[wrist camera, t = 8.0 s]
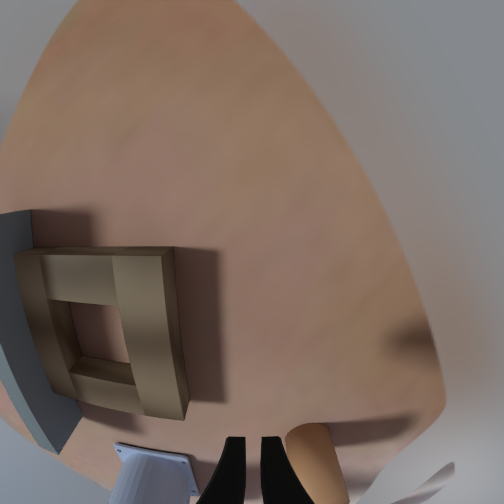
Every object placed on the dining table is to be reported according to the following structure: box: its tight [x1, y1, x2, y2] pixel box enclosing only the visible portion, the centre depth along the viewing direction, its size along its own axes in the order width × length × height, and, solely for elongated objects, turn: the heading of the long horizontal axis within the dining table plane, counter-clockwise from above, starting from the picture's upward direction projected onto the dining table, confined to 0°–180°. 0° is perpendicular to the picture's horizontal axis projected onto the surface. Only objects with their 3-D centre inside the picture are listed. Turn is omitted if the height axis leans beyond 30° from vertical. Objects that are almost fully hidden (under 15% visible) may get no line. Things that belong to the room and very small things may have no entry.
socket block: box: [13, 247, 190, 421], centre depth 17 cm, size 12×12×2 cm
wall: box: [0, 210, 83, 455], centre depth 15 cm, size 20×2×6 cm, turn 0°
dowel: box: [285, 423, 350, 504], centre depth 16 cm, size 4×4×8 cm
